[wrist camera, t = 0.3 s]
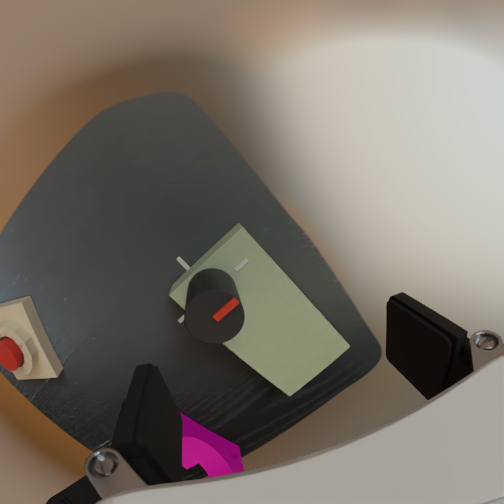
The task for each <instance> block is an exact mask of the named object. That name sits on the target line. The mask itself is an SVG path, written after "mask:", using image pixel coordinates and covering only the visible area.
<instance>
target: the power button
mask: <svg viewBox="0 0 504 504" xmlns="http://www.w3.org/2000/svg"><path fill="white" fill-rule="evenodd" d="M23 359H24V356H23V353H22V351H21V349H20V347H19V346H18V345H17V344H16V343H15V341H14V340H13V339H11V338H4V339H2V340H1V341H0V363H1V364H2V365H3V366H4V367H5V368H6V369H8V370H10V371H15V370H16V369H17V368H18V367H19V366H20V365H21V363H22V362H23Z"/></svg>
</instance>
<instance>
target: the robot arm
mask: <svg viewBox="0 0 504 504" xmlns="http://www.w3.org/2000/svg"><path fill="white" fill-rule="evenodd" d="M467 333H468V332H467V331H466V330H464V329H462V328H461V327H459V326H458V325H456V324H455V323H453V322H451V321H450V320H448V319H447V318H445V317H443V316H442V315H440V314H438V313H437V312H435V311H433V310H432V309H430V308H428V307H426V306H425V305H423V304H422V303H420V302H418V301H417V300H415V299H413V298H411V297H410V296H408V295H406V294H405V293H399V294H397V295H394V296H391V297H390V299H389V301H388V302H387V330H386V357H387V359H388V361H389V362H390V363H391V364H392V365H393V366H394V367H395V368H396V369H397V370H398V371H399V372H400V373H401V374H402V375H403V376H404V377H405V378H406V379H407V380H408V381H409V382H410V383H411V384H412V385H413V386H414V387H415V388H416V389H417V390H418V391H419V392H420V393H421V394H422V395H423V396H424V397H425V398H426V399H427V400H428V401H426V402H424V403H423V404H421V405H419V406H417V407H416V408H414V409H412V410H410V411H408V412H407V413H405V414H403V415H401V416H399V417H397V418H395V419H393V420H391V421H389V422H387V423H385V424H383V425H381V426H379V427H376V428H374V429H372V430H370V431H368V432H365V433H363V434H361V435H358V436H356V437H354V438H351V439H349V440H346V441H344V442H341V443H339V444H336V445H334V446H331V447H328V448H326V449H323V450H320V451H317V452H314V453H311V454H308V455H305V456H301V457H298V458H295V459H291V460H288V461H285V462H281V463H277V464H274V465H270V466H266V467H262V468H258V469H253V470H248V471H244V472H239V473H233V474H228V475H222V476H217V477H211V478H204V479H197V480H189V481H182V432H183V420H182V416H181V413H180V412H179V410H178V408H177V406H176V404H175V402H174V400H173V398H172V396H171V394H170V392H169V390H168V388H167V386H166V384H165V382H164V379H163V377H162V375H161V373H160V371H159V369H158V367H157V366H154V367H153V365H152V364H150V363H149V364H144V365H138V366H136V368H135V372H134V375H133V378H132V381H131V385H130V388H129V391H128V395H127V398H126V400H125V401H124V402H123V404H122V407H121V411H120V414H119V418H118V421H117V425H116V429H115V432H114V436H113V440H112V444H111V448H103V449H99V450H96V451H94V452H93V453H92V454H90V455H89V456H88V458H87V459H86V461H85V464H84V470H85V473H86V476H84V477H83V478H81V479H80V480H78V481H77V482H75V483H74V484H72V485H70V486H69V487H67V488H66V489H64V490H63V491H61V492H59V493H58V494H56V495H54V496H53V497H51V498H50V499H49V500H48V501H47V503H46V504H504V344H503V341H502V339H501V337H500V336H499V335H498V334H497V333H495V332H492V331H488V330H487V331H486V330H483V331H478V332H476V333H474V334H473V335H472V336H471V338H470V339H469V338H467Z"/></svg>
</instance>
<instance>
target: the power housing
mask: <svg viewBox="0 0 504 504" xmlns="http://www.w3.org/2000/svg"><path fill="white" fill-rule="evenodd" d="M4 338H11V339H13V340H14V341H15V343H16V344H17V345H18V346H19V347H20V349H21V351H22V353H23V356H24V359H23V362H22V363H21V365H20V366H19V367H18V368H17V369H16V370H15V371H12V372H13V373H14V375H15V376H16V378H17V380H20V379H42V378H57V377H58V376H59V374H60V373H61V371H62V370H63V366H62V364H61V362H60V360H59V358H58V356H57V354H56V353H55V351H54V349H53V346H52V344H51V342H50V340H49V338H48V336H47V334H46V332H45V329H44V327H43V325H42V323H41V320H40V318H39V316H38V313H37V311H36V308H35V306H34V303H33V301H32V298H31V296H27V297H23V298H19V299H15V300H11V301H8V302H4V303H0V341H1V340H2V339H4Z"/></svg>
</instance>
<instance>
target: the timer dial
mask: <svg viewBox="0 0 504 504" xmlns="http://www.w3.org/2000/svg"><path fill="white" fill-rule="evenodd" d="M244 320H245V313H244V309H243V306H242V303H241V300H240V297H239V294H238V291H237V288H236V285H235V282H234V280H233V279H232V277H231V276H230V275H229V274H228V273H226V272H225V271H223V270H220V269H216V268H208V269H204V270H201V271H199V272H198V273H196V274H195V275H194V276H193V277H192V279H191V280H190V282H189V285H188V289H187V297H186V304H185V312H184V321H185V325H186V327H187V329H188V331H189V332H190V333H191V335H192V336H194V337H195V338H196V339H198V340H200V341H202V342H205V343H209V344H220V343H224V342H227V341H229V340H231V339H232V338H234V337H235V336H236V335H237V334H238V333H239V332H240V330H241V329H242V327H243V324H244Z"/></svg>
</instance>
